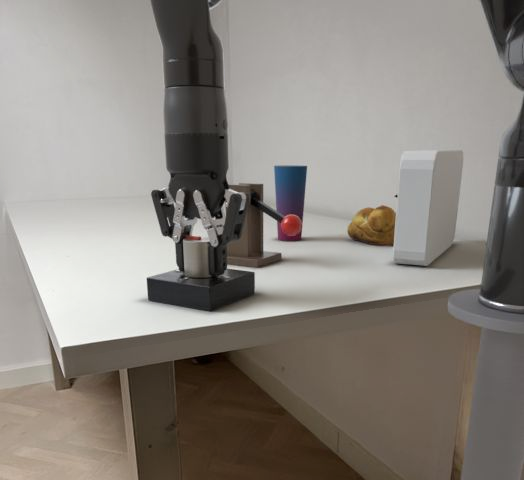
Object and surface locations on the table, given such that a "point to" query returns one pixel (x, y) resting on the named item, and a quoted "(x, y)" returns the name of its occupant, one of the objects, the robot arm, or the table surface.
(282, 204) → the cup
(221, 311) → the table surface
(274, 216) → the lever
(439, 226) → the rounded white slab
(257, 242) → the brown lever stand
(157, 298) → the black square base
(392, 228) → the bread roll
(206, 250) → the knob
